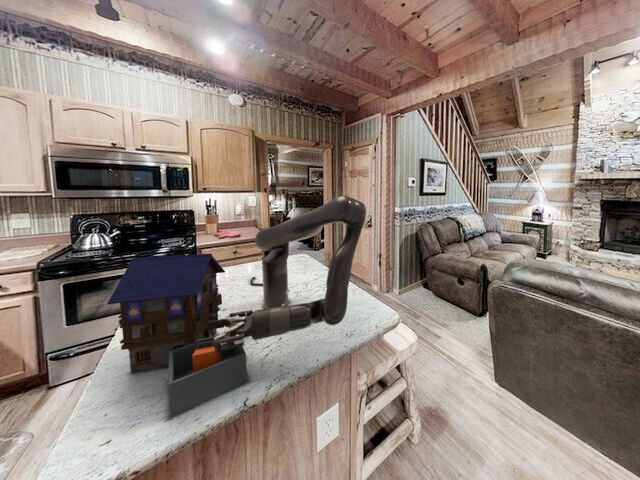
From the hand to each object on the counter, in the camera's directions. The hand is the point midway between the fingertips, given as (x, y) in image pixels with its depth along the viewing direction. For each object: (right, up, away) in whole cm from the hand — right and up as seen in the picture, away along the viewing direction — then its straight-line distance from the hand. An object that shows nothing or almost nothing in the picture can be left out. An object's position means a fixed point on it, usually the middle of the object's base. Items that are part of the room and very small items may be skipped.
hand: (201, 334), depth 65 cm
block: (+1, -12, +1) cm, 12 cm away
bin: (+1, -13, +1) cm, 13 cm away
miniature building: (-17, -12, +12) cm, 24 cm away
